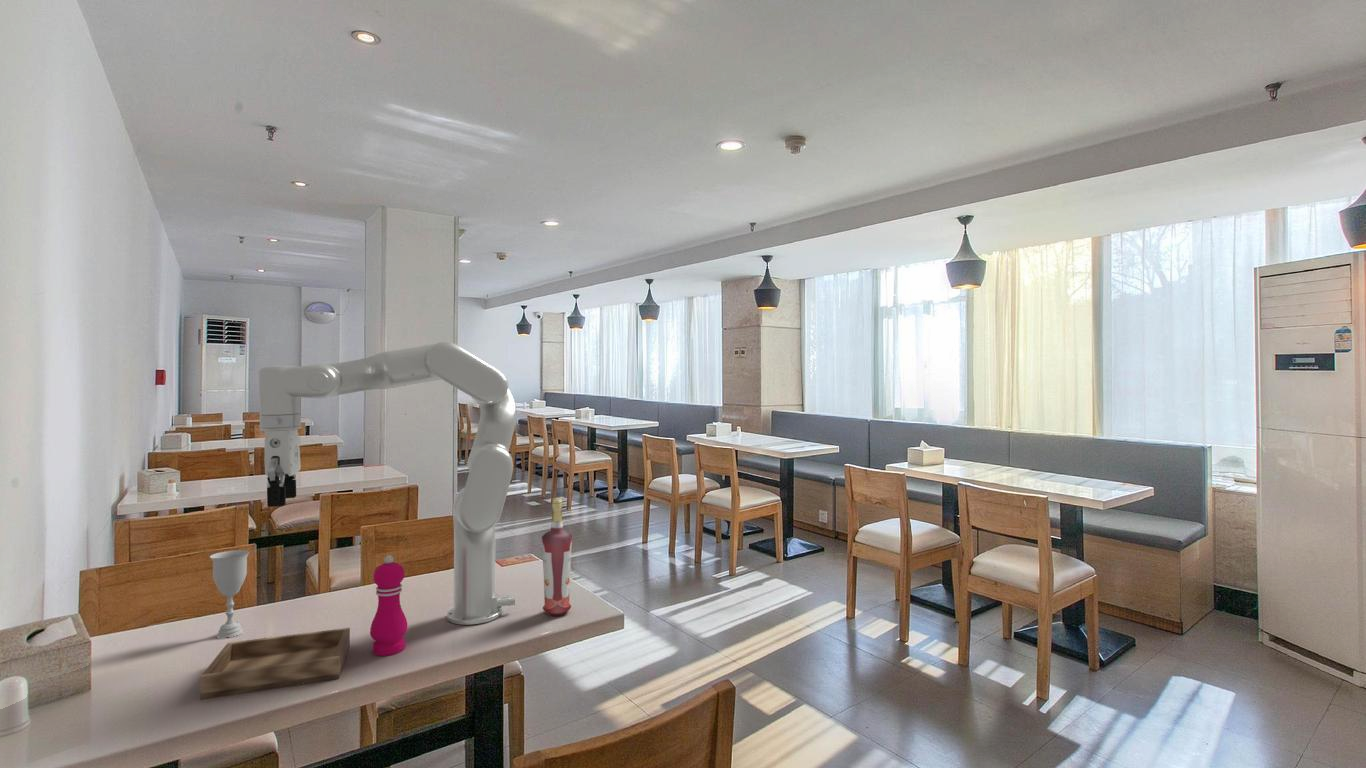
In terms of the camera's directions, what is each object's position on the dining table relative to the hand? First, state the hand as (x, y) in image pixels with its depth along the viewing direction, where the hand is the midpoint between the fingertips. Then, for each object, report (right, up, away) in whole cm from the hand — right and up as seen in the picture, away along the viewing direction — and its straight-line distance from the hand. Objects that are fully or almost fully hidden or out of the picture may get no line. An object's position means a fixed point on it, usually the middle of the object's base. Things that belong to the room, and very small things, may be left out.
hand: (282, 501), depth 137 cm
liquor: (+56, -31, +19) cm, 66 cm away
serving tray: (+8, -31, -12) cm, 34 cm away
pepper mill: (+24, -31, -3) cm, 40 cm away
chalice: (-15, -31, +6) cm, 35 cm away
